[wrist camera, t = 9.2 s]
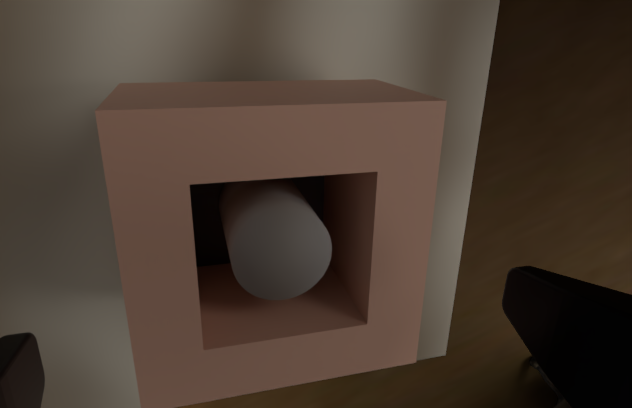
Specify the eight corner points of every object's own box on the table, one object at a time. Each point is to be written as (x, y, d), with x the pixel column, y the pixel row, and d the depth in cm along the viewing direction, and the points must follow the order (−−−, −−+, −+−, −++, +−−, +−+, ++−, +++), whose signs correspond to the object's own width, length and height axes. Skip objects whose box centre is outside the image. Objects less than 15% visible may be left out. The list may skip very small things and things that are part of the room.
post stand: (473, -65, 16) (645, -114, 10) (423, 327, 22) (514, 440, 16) (-82, -111, 12) (-337, -239, 6) (39, 388, 18) (-29, 572, 12)
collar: (375, 79, 14) (446, 100, 10) (362, 286, 16) (416, 362, 13) (119, 83, 12) (95, 110, 8) (150, 315, 14) (141, 414, 11)
